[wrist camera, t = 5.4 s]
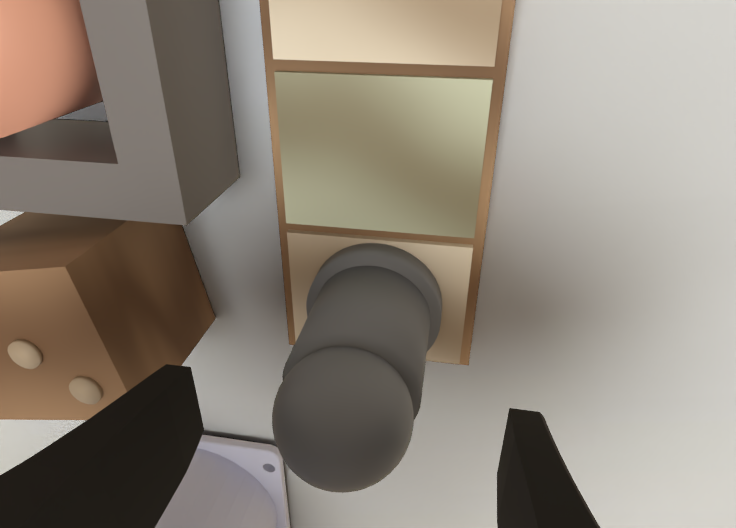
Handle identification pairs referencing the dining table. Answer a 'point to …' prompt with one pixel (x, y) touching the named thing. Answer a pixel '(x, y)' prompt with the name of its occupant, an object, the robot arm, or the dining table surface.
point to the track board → (386, 139)
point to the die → (91, 311)
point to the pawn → (357, 367)
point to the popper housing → (135, 122)
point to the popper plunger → (43, 63)
